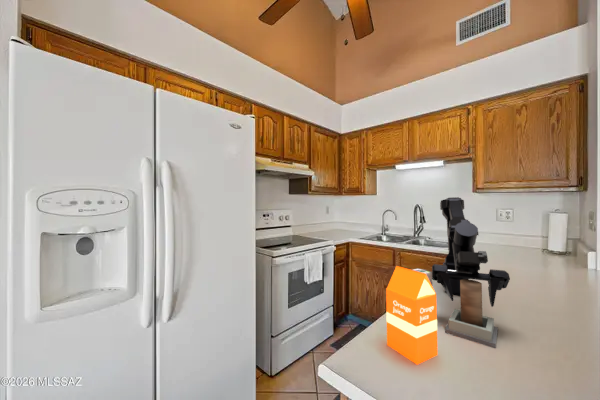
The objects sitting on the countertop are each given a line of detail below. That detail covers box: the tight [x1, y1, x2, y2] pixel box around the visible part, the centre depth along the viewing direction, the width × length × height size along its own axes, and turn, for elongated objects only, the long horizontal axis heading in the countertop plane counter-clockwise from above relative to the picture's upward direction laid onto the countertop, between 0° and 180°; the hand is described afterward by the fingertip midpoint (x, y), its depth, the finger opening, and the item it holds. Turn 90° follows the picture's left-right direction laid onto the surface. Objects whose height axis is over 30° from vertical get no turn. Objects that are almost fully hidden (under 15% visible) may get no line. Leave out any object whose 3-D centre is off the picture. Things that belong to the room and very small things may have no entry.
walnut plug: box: [459, 279, 483, 327], centre depth 67 cm, size 5×5×13 cm
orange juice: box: [385, 265, 439, 366], centre depth 59 cm, size 8×9×20 cm
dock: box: [444, 308, 499, 349], centre depth 67 cm, size 11×11×4 cm
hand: (471, 303), depth 66 cm, fingers open, 9 cm apart
